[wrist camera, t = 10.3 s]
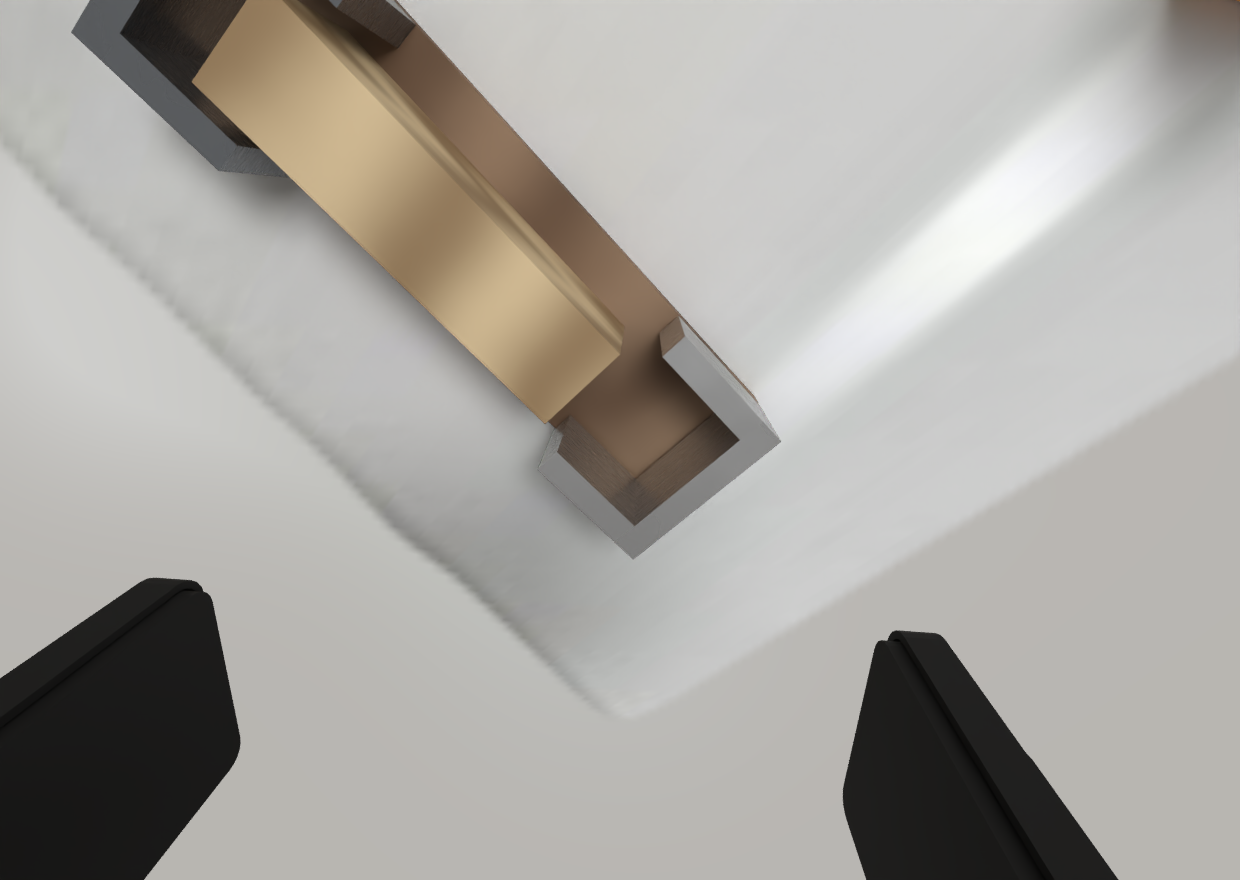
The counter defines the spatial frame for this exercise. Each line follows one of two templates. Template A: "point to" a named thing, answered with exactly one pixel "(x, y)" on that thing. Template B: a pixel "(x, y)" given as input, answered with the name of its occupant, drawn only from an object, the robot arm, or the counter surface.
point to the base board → (639, 377)
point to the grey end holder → (197, 63)
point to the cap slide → (682, 473)
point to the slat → (410, 199)
